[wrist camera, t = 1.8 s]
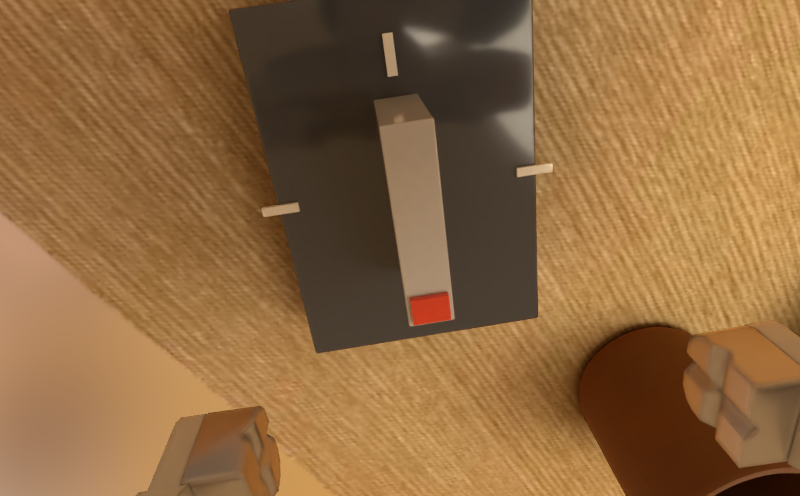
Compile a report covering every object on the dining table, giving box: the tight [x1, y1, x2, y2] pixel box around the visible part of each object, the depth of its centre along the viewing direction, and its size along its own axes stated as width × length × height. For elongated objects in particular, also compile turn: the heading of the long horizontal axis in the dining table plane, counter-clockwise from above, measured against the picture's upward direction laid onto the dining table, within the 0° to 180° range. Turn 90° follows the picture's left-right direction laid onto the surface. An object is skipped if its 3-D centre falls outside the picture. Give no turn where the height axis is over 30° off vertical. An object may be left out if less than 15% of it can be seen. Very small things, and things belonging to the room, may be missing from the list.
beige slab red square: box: [373, 94, 455, 326], centre depth 18 cm, size 7×2×4 cm, turn 8°
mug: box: [578, 327, 800, 496], centre depth 26 cm, size 12×8×9 cm, turn 47°
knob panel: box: [228, 0, 553, 353], centre depth 21 cm, size 14×11×3 cm
